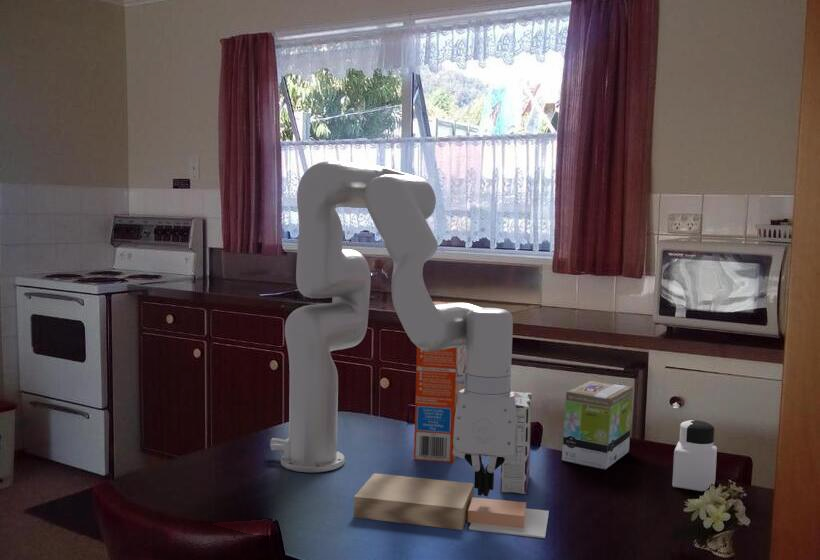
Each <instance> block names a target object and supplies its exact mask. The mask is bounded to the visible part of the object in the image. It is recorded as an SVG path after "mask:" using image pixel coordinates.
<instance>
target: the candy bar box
mask: <svg viewBox="0 0 820 560" xmlns="http://www.w3.org/2000/svg"><path fill="white" fill-rule="evenodd" d="M510 392H513V393H514V396H515V402H516V412H517V444H516V449H517V454H518V459H517V461H515V462H508V463H503V464H502V465H500V467H501V468H500V492H501V493H502V494H503V493H504V494H511V495H512V494H513V495H515V494H516V495H527V490H528V485H529V484H528V483H529V480H530V461H531V460H530V459H531V457H530V456H531V455H530V454H531V453H530V452H531V427H532V426H531V425H532V424H531V423H532V422H531V421H532V418H531V417H532V414H531V413H532V392H525V391H524V392H522V391H511V390H510Z"/></svg>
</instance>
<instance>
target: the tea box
mask: <svg viewBox="0 0 820 560" xmlns="http://www.w3.org/2000/svg"><path fill="white" fill-rule="evenodd" d="M633 390H634V387H633V386H629V385H622V384H615V383H609V382H604V381H603V382H602V381H596V380H589V381H587V382H585V383H582V384H580V385H578V386H576V387H573V388H571V389H569V390H567V391H566V392H565V394H566V395H565V406H564V407H565V408H564V419H563V420H564V422H563V437H562V439H563V440H562V448H561V449H562V451H561V453H562V454H561V461H564V462H568V463H573V464H576V465H577V464H578V465H581V466H587V467H592V468H596V469H602V470H607V469H608V468H609V467H611V466H612V465H613V464H615V463H616V462H617V461H619V460H620V459H621V458H622V457H624V456H625V455H626V454H628V453H629V452H630V451H629V450H630V438H631V424H632V421H631V420H632V412H633V411H632V410H633V409H632V407H633V395H634V393H633V392H634V391H633Z"/></svg>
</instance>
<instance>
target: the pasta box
mask: <svg viewBox="0 0 820 560" xmlns="http://www.w3.org/2000/svg"><path fill="white" fill-rule="evenodd" d="M433 303H434V305H437V304H446V303H456V302H453V301H452V302H451V301H433ZM465 353H466V346H461V347H455V348H449V349H444V350H438V351H425V350H422V349H420V348H418V347H417V346H416V358H415V359H416V364H415V366H416V367H415V370H416V372H415V400H414V401H415V402H414V403H415V405H414V407H415V409H414V435H413V436H414V440H413V443H414V444H413V461H422V460H426V462H435V461H437V462H439V463H448V464H449V463H451V464H453V463H454V462H455V459H456V456H454V455H453V453H452V452H453V449H454V447H453V435H454V422H455V412H456V405H457V400H458V395H459V391H461V390H462V389H464V386H462V384H460V383H456V375H461V374H463V373H465Z"/></svg>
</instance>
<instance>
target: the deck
mask: <svg viewBox="0 0 820 560" xmlns="http://www.w3.org/2000/svg"><path fill="white" fill-rule="evenodd" d="M474 491H475V488H474V483H473V482H472V483H471V482H462V481H461V482H460V481H453V480H443V479H434V478H433V479H432V478H424V477H416V476H415V477H414V476H406V475H405V476H404V475H393V474H385V473H375V472H374V473H372V475H371V476H370V478H369V479H368V480H367V481H366V482H365V484H363V485H362V487H361V488H360V489H359V490H358V492H357V493H356V494H355V495H354V496H353V518H355V519H356V518H357V519H364V520H365V519H366V520H374V521H381V522H382V521H384V522H392V523H398V524H408V525H416V526H417V525H418V526H426V527H433V528H434V527H435V528H442V529H451V530H459V531H462V530H463V529H464V526H465V524H466V522H467V520H468V509H469V506H470V503H471V500H472V497H475V495H474V494H475V492H474Z"/></svg>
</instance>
